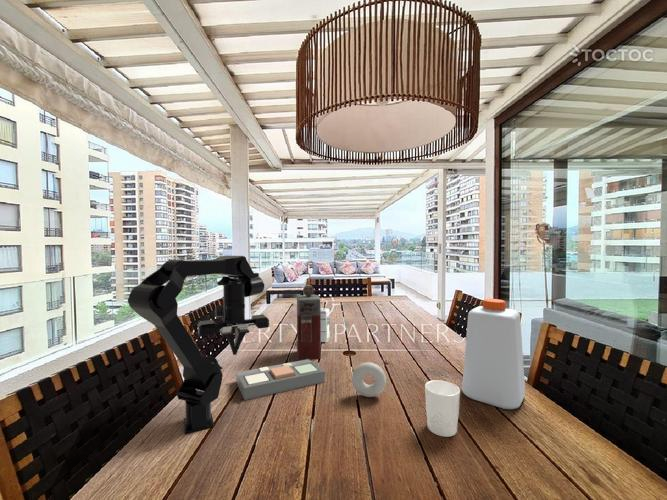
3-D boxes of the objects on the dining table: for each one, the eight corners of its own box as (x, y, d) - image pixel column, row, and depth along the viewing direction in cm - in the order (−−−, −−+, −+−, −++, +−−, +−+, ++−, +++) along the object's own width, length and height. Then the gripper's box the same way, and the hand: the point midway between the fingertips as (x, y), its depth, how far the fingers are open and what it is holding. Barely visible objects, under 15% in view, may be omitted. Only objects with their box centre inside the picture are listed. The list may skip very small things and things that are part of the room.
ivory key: (269, 386, 92) (269, 380, 92) (248, 391, 90) (248, 384, 90) (264, 378, 98) (264, 372, 98) (244, 382, 95) (244, 376, 95)
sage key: (317, 376, 100) (317, 370, 100) (300, 379, 97) (300, 373, 97) (310, 369, 105) (310, 363, 105) (293, 372, 102) (293, 366, 102)
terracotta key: (294, 378, 96) (294, 372, 96) (275, 382, 93) (275, 375, 93) (288, 371, 101) (288, 365, 101) (270, 374, 99) (270, 368, 99)
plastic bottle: (473, 379, 101) (474, 294, 101) (527, 393, 91) (528, 299, 91) (457, 396, 90) (458, 300, 89) (517, 415, 80) (518, 307, 79)
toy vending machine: (297, 362, 116) (297, 287, 115) (297, 351, 127) (296, 283, 126) (321, 360, 117) (321, 287, 116) (318, 350, 128) (318, 283, 128)
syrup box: (327, 343, 138) (327, 310, 138) (314, 342, 139) (314, 310, 139) (329, 339, 143) (329, 308, 143) (317, 338, 145) (317, 307, 144)
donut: (351, 398, 89) (351, 363, 88) (352, 392, 92) (352, 359, 92) (386, 400, 87) (386, 365, 87) (386, 395, 91) (386, 361, 90)
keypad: (324, 382, 99) (324, 371, 99) (244, 400, 87) (244, 388, 87) (308, 367, 111) (308, 357, 111) (236, 381, 99) (236, 371, 99)
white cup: (432, 415, 80) (432, 377, 80) (463, 427, 75) (464, 386, 75) (419, 429, 74) (419, 388, 73) (453, 443, 69) (453, 399, 68)
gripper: (260, 293, 99) (260, 341, 99) (196, 298, 90) (196, 351, 90) (269, 298, 89) (269, 352, 89) (199, 304, 80) (199, 364, 81)
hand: (234, 354), depth 88 cm, fingers closed
